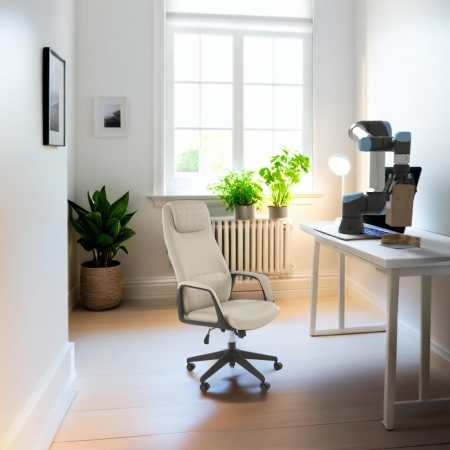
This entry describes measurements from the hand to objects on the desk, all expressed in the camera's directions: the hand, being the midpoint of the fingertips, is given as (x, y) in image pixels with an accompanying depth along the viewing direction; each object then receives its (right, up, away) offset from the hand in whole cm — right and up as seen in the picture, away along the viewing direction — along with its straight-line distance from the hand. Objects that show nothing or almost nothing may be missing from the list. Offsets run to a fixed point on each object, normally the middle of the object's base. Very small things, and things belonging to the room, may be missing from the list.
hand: (399, 207), depth 245 cm
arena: (+1, -19, +4) cm, 19 cm away
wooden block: (0, -9, +1) cm, 9 cm away
